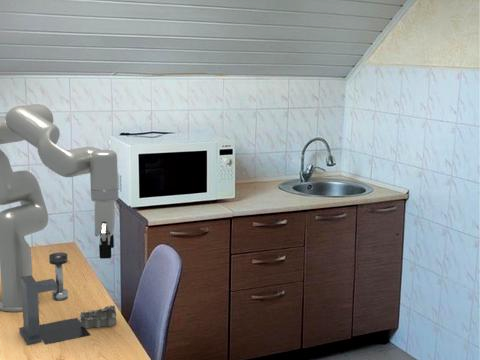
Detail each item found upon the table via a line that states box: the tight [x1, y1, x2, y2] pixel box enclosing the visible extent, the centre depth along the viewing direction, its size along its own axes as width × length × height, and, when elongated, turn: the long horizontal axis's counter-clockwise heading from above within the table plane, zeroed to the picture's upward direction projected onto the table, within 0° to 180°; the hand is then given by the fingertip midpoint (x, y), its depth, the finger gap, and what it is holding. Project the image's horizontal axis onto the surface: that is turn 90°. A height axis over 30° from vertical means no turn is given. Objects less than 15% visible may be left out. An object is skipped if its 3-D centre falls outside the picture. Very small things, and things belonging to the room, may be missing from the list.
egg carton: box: [79, 305, 117, 329], centre depth 202 cm, size 11×8×4 cm
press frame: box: [18, 274, 91, 346], centre depth 195 cm, size 14×18×17 cm
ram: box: [48, 252, 69, 302], centre depth 194 cm, size 5×5×13 cm
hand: (106, 252), depth 193 cm, fingers open, 9 cm apart
